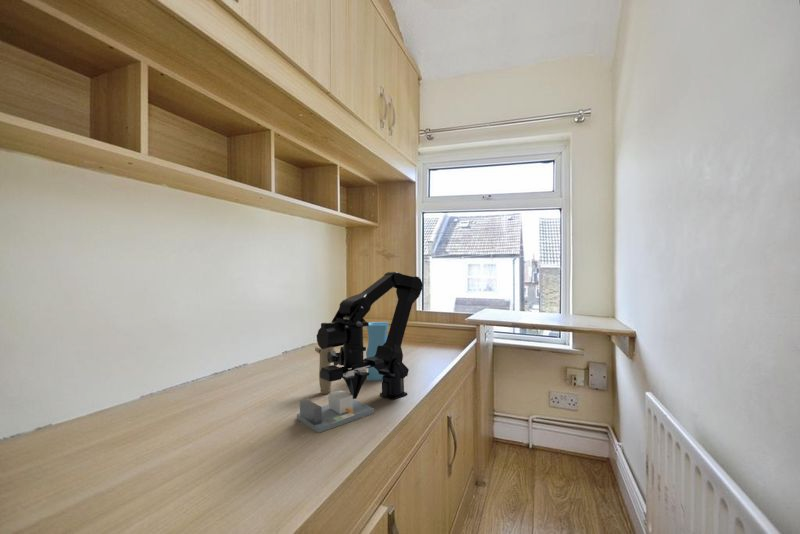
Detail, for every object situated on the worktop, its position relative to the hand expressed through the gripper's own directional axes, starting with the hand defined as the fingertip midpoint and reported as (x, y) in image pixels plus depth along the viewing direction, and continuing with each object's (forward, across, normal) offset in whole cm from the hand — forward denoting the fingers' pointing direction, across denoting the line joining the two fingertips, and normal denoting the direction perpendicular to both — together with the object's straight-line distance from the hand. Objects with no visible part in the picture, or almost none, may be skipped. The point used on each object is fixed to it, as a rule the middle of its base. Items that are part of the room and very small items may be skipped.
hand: (354, 398), depth 97 cm
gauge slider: (+2, +5, +1) cm, 5 cm away
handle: (+3, -2, -19) cm, 19 cm away
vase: (+3, -24, -20) cm, 32 cm away
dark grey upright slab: (+2, +14, 0) cm, 14 cm away
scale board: (+3, +6, 0) cm, 7 cm away
